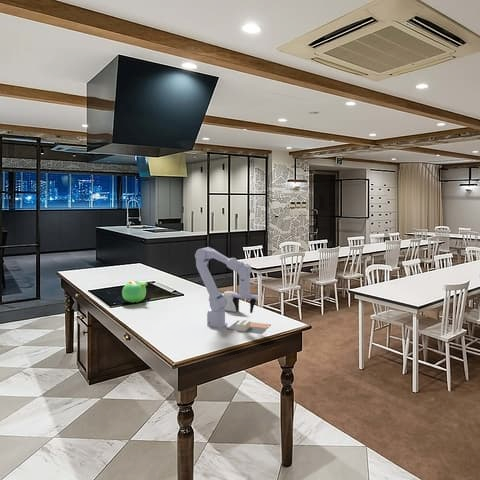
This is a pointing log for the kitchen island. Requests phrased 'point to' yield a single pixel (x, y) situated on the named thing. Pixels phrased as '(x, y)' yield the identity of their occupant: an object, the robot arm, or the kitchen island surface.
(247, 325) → the card deck
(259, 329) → the mat
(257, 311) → the kitchen island surface
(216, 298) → the robot arm
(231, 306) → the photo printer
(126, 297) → the green apple
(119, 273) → the kitchen island surface
